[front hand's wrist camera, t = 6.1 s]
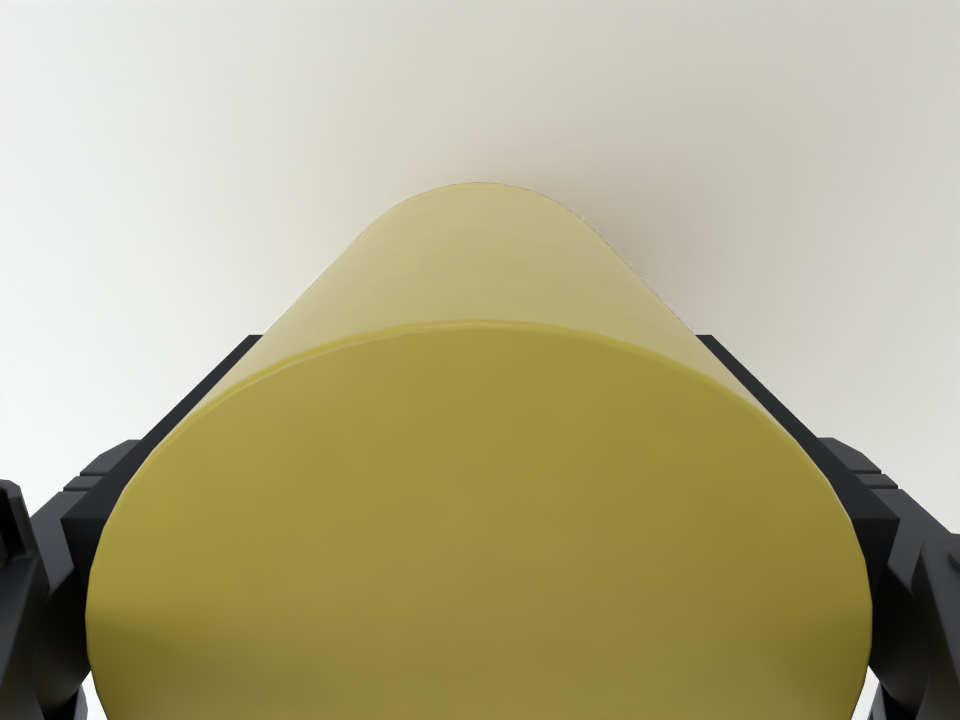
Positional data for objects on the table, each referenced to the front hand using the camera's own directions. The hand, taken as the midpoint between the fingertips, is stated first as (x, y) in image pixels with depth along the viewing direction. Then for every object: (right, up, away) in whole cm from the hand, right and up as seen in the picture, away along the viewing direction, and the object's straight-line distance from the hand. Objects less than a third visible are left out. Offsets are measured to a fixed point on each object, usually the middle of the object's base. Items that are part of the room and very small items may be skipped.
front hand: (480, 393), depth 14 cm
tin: (0, +1, +3) cm, 3 cm away
